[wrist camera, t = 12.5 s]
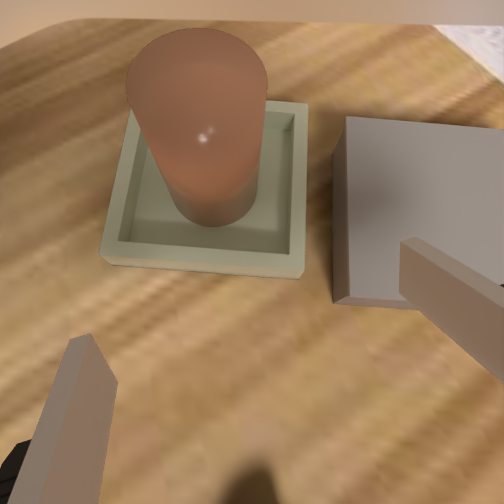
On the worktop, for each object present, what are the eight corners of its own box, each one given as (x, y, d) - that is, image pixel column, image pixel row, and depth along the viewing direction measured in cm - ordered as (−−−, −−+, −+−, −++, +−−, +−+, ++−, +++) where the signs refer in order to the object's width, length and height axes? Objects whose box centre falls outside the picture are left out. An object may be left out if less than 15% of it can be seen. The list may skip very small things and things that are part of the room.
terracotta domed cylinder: (165, 224, 24) (113, 136, 14) (177, 147, 25) (138, 23, 16) (254, 230, 24) (263, 147, 14) (259, 153, 25) (270, 33, 16)
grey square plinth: (330, 306, 23) (349, 295, 19) (329, 152, 26) (346, 116, 22) (534, 321, 23) (597, 314, 19) (505, 166, 27) (553, 133, 23)
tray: (112, 265, 23) (98, 254, 21) (144, 112, 27) (135, 88, 25) (297, 279, 23) (304, 270, 21) (302, 125, 27) (308, 103, 25)
